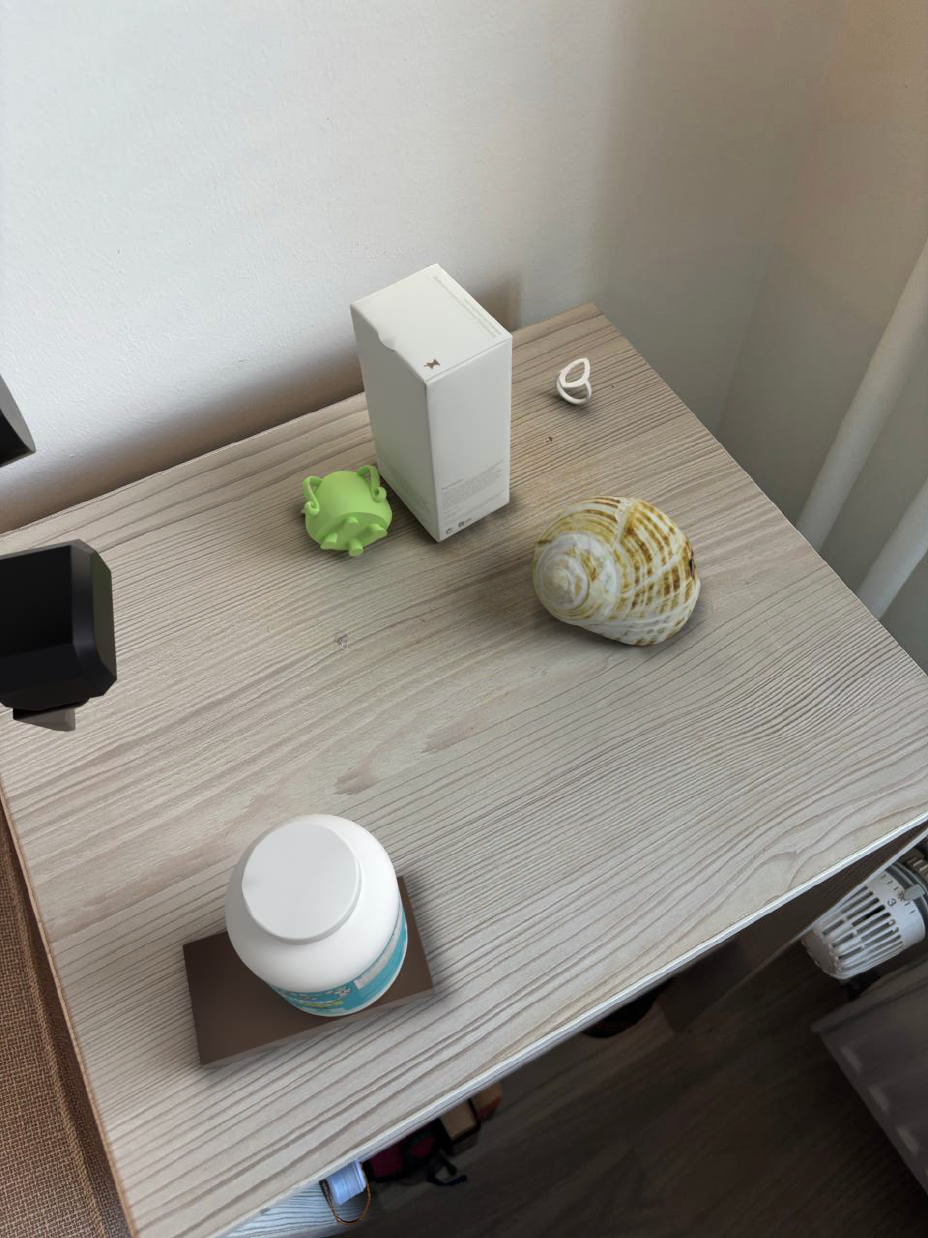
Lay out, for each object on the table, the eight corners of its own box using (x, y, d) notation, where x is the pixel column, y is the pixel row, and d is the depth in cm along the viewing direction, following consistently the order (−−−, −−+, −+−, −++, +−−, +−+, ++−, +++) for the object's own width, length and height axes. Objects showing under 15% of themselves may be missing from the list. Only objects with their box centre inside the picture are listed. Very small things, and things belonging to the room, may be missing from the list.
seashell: (732, 589, 61) (720, 554, 52) (623, 687, 62) (592, 669, 53) (630, 487, 65) (602, 436, 55) (529, 581, 66) (484, 547, 57)
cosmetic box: (510, 505, 65) (522, 338, 52) (432, 549, 63) (424, 387, 50) (445, 431, 69) (440, 256, 55) (369, 470, 67) (345, 299, 53)
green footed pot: (386, 495, 66) (380, 441, 61) (403, 555, 63) (398, 505, 58) (300, 512, 65) (287, 460, 60) (314, 574, 62) (301, 525, 57)
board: (212, 1070, 47) (200, 1066, 45) (193, 953, 50) (181, 944, 48) (436, 994, 49) (434, 987, 47) (405, 886, 52) (403, 874, 50)
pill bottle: (237, 962, 48) (163, 900, 36) (326, 845, 51) (285, 753, 39) (351, 1052, 45) (312, 1017, 34) (437, 924, 49) (429, 852, 37)
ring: (548, 389, 71) (553, 361, 68) (581, 384, 71) (587, 356, 68) (557, 415, 70) (562, 387, 67) (590, 409, 70) (597, 382, 67)
